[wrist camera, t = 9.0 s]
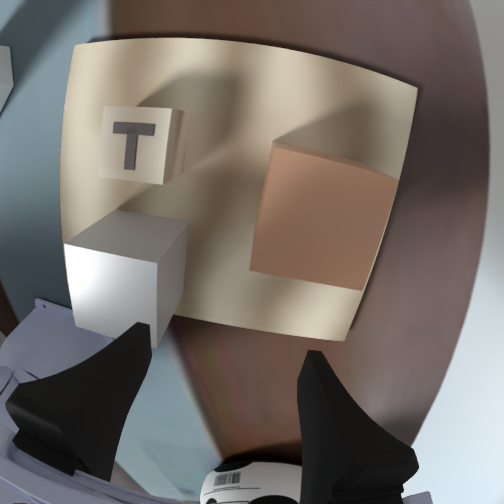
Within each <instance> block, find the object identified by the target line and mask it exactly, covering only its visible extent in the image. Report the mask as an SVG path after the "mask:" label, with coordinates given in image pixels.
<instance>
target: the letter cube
mask: <svg viewBox="0 0 504 504" xmlns="http://www.w3.org/2000/svg"><path fill="white" fill-rule="evenodd" d="M190 117H191V112H189V111H183V110H177V109H169V108H153V107H129V106H104V110H103V118H102V127H101V138H100V150H99V165H98V177H103V178H112V179H120V180H129V181H137V182H145V183H152V184H160V185H163V184H165V183H167V182H168V181H170V180H172V179H173V178H175V177H177V176H178V175H180V174H182V173H183V167H184V159H185V151H186V144H187V137H188V130H189V123H190Z"/></svg>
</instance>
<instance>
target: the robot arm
mask: <svg viewBox="0 0 504 504" xmlns="http://www.w3.org/2000/svg"><path fill="white" fill-rule="evenodd" d="M35 307H36V308H35V309H34V310H33V311H32V312H31V313H30V314H29V315H28V316H27V317H26V318H25V319H24V320H23V321H22V322H21V323H20V324H19V325H18V326H17V327H16V328H15V329H14V330H13V331H12V332H11V333H10V335H9V336H8V337H7V338H6V339H5V341H4V342H3V344H2V347H1V349H0V504H13V503H32V504H187V503H182V502H177V501H173V500H168V499H164V498H160V497H156V496H152V495H149V494H145V493H141V492H138V491H135V490H131V489H128V488H125V487H122V486H119V485H116V484H113V483H110V479H111V474H112V469H113V464H114V460H115V456H116V451H117V447H118V444H119V440H120V437H121V433H122V430H123V427H124V423H125V420H126V417H127V415H128V412H129V410H130V408H131V406H132V403H133V401H134V399H135V397H136V395H137V393H138V391H139V389H140V387H141V385H142V382H143V380H144V378H145V376H146V374H147V371H148V368H149V364H150V361H151V358H152V350H151V335H150V324H146V323H141V322H136V323H135V324H134V325H133V326H131V327H130V328H129V329H128V330H126V331H125V332H124V333H123V334H121V335H120V336H119V337H118V338H116V339H115V340H114V338H112V337H109V336H106V335H102V334H99V333H96V332H92V331H89V330H86V329H83V328H80V327H77V326H76V325H75V320H74V314H73V310H72V309H69V308H66V307H63V306H60V305H57V304H54V303H51V302H48V301H45V300H42V299H39V298H37V299H36V300H35ZM297 402H298V411H299V419H300V427H301V436H302V477H301V491H300V502H299V504H433V502H432V499H431V495H430V492H428V491H427V492H423V493H419V494H415V495H410V496H407V497H405V498H403V499H402V497H401V493H403V491H404V488H403V484H404V483H405V482H406V481H408V480H409V479H410V478H411V477H412V476H413V475H414V474H415V473H416V472H417V471H418V469H419V464H418V461H417V457H416V454H415V452H414V449H413V448H411V447H409V446H408V445H406V444H404V443H403V442H401V441H399V440H398V439H396V438H395V437H393V436H392V435H391V434H389V433H388V432H386V431H385V430H384V429H383V428H381V427H380V426H379V425H378V424H377V423H376V422H375V421H373V420H372V419H371V418H370V417H369V416H368V415H367V414H366V413H365V412H364V411H363V410H362V409H361V408H360V407H359V405H358V404H357V403H356V402H355V401H354V400H353V398H352V397H351V396H350V394H349V393H348V392H347V390H346V389H345V388H344V386H343V385H342V383H341V382H340V380H339V379H338V377H337V376H336V374H335V373H334V371H333V370H332V368H331V366H330V365H329V363H328V361H327V360H326V358H325V356H324V355H323V353H322V352H321V351H314V350H308V352H307V355H306V358H305V361H304V364H303V366H302V369H301V372H300V374H299V377H298V380H297Z"/></svg>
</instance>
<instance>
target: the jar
mask: <svg viewBox="0 0 504 504" xmlns="http://www.w3.org/2000/svg"><path fill="white" fill-rule="evenodd" d="M13 86H14V82H13V74H12V65H11V54H10V47H8V46H0V112H1V110H2V108H3V106H4V104H5V102H6V100H7V98H8V96H9V94H10V92H11V90H12V88H13Z"/></svg>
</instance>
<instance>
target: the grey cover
mask: <svg viewBox="0 0 504 504" xmlns="http://www.w3.org/2000/svg"><path fill="white" fill-rule="evenodd" d="M188 229H189V221H183V220H177V219H171V218H165V217H159V216H152V215H146V214H140V213H134V212H127V211H121V210H114V211H112V212H111V213H109V214H108V215H106V216H104V217H103V218H101V219H100V220H98V221H97V222H95V223H94V224H92V225H91V226H89V227H88V228H86V229H85V230H83V231H82V232H80V233H79V234H77V235H76V236H75V237H73V238H72V239H70V240H69V241H67V242H66V243H65V244H64V249H65V259H66V268H67V276H68V283H69V290H70V297H71V303H72V309H73V314H74V320H75V325H76V326H77V327H80V328H83V329H86V330H89V331H92V332H96V333H99V334H102V335H106V336H109V337H112V338H118V337H119V336H120V335H121V334H123V333H124V332H125V331H126V330H128V329H129V328H130V327H131V326H133V325H134V324H135V323H136V322H141V323H146V324H150V335H151V348H154V349H158V346H159V344H160V342H161V340H162V337H163V335H164V333H165V331H166V329H167V326H168V324H169V322H170V320H171V318H172V316H173V313H174V311H175V309H176V307H177V305H178V303H179V301H180V299H181V296H182V294H183V289H184V275H185V263H186V251H187V240H188Z"/></svg>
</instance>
